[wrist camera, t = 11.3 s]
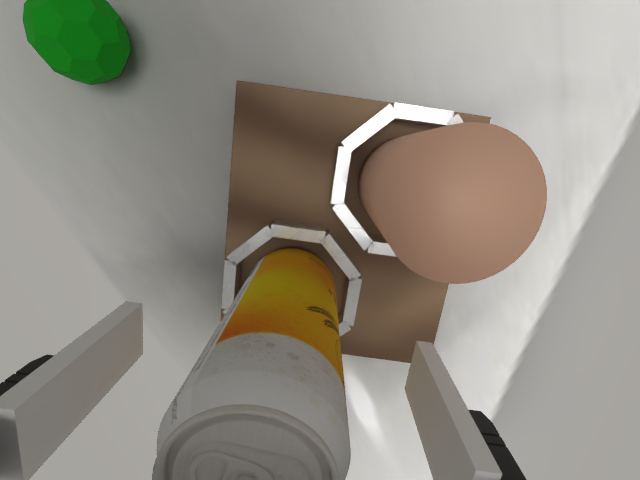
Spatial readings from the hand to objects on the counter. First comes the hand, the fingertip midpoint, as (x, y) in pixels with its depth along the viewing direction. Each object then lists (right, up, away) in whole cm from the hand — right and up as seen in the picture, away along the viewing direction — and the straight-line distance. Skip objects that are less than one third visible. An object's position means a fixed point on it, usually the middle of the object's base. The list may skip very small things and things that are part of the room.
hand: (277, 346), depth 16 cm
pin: (+8, +9, +6) cm, 13 cm away
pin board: (+4, +6, +9) cm, 11 cm away
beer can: (0, +2, +8) cm, 8 cm away
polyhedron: (-12, +18, +6) cm, 22 cm away
